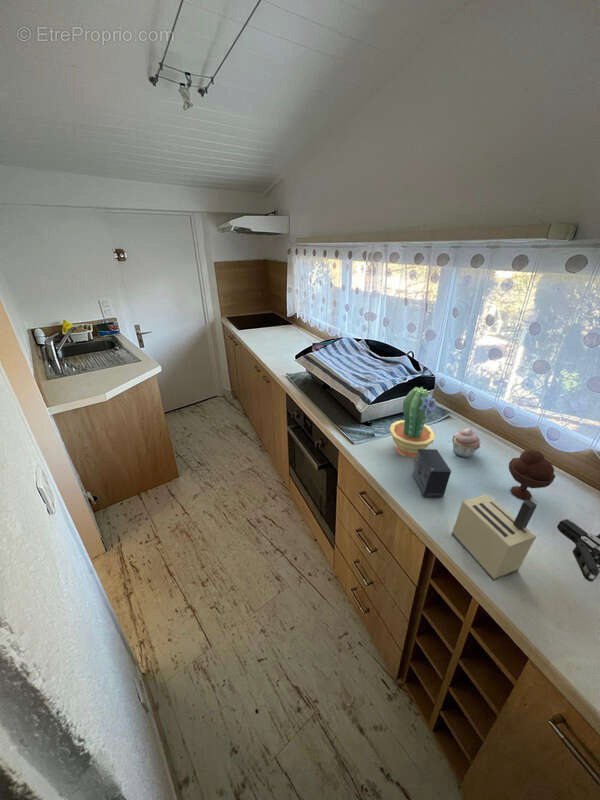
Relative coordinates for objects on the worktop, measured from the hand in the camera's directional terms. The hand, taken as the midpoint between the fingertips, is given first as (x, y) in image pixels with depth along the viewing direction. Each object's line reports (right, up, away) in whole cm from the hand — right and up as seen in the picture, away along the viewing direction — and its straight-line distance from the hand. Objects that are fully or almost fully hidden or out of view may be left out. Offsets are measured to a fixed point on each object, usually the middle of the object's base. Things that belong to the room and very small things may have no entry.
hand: (561, 523), depth 59 cm
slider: (-2, -4, +9) cm, 10 cm away
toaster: (-5, -14, +17) cm, 22 cm away
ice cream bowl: (+16, -5, +33) cm, 38 cm away
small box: (-10, -3, +37) cm, 38 cm away
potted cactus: (-11, +5, +53) cm, 54 cm away
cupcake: (+8, +5, +51) cm, 52 cm away
